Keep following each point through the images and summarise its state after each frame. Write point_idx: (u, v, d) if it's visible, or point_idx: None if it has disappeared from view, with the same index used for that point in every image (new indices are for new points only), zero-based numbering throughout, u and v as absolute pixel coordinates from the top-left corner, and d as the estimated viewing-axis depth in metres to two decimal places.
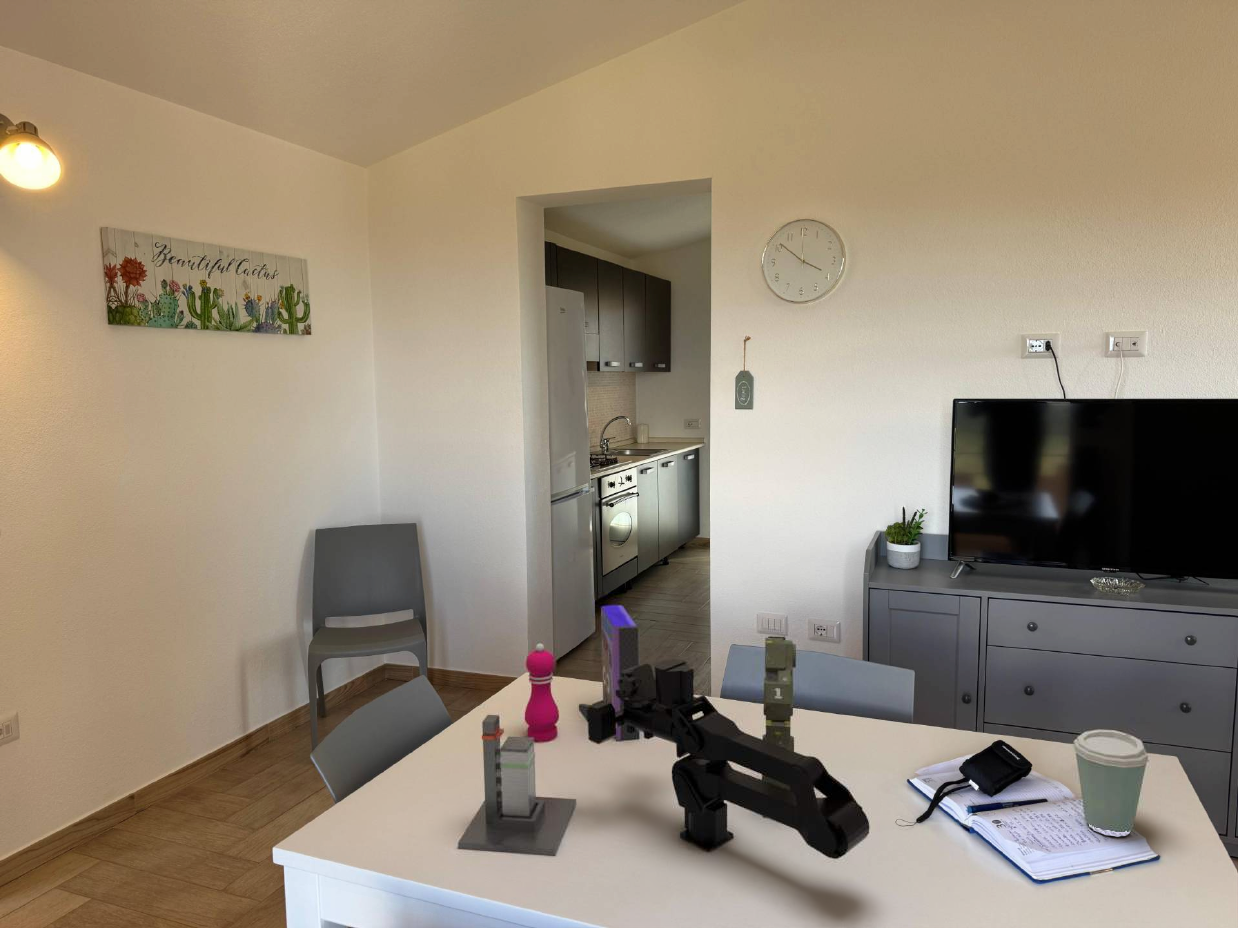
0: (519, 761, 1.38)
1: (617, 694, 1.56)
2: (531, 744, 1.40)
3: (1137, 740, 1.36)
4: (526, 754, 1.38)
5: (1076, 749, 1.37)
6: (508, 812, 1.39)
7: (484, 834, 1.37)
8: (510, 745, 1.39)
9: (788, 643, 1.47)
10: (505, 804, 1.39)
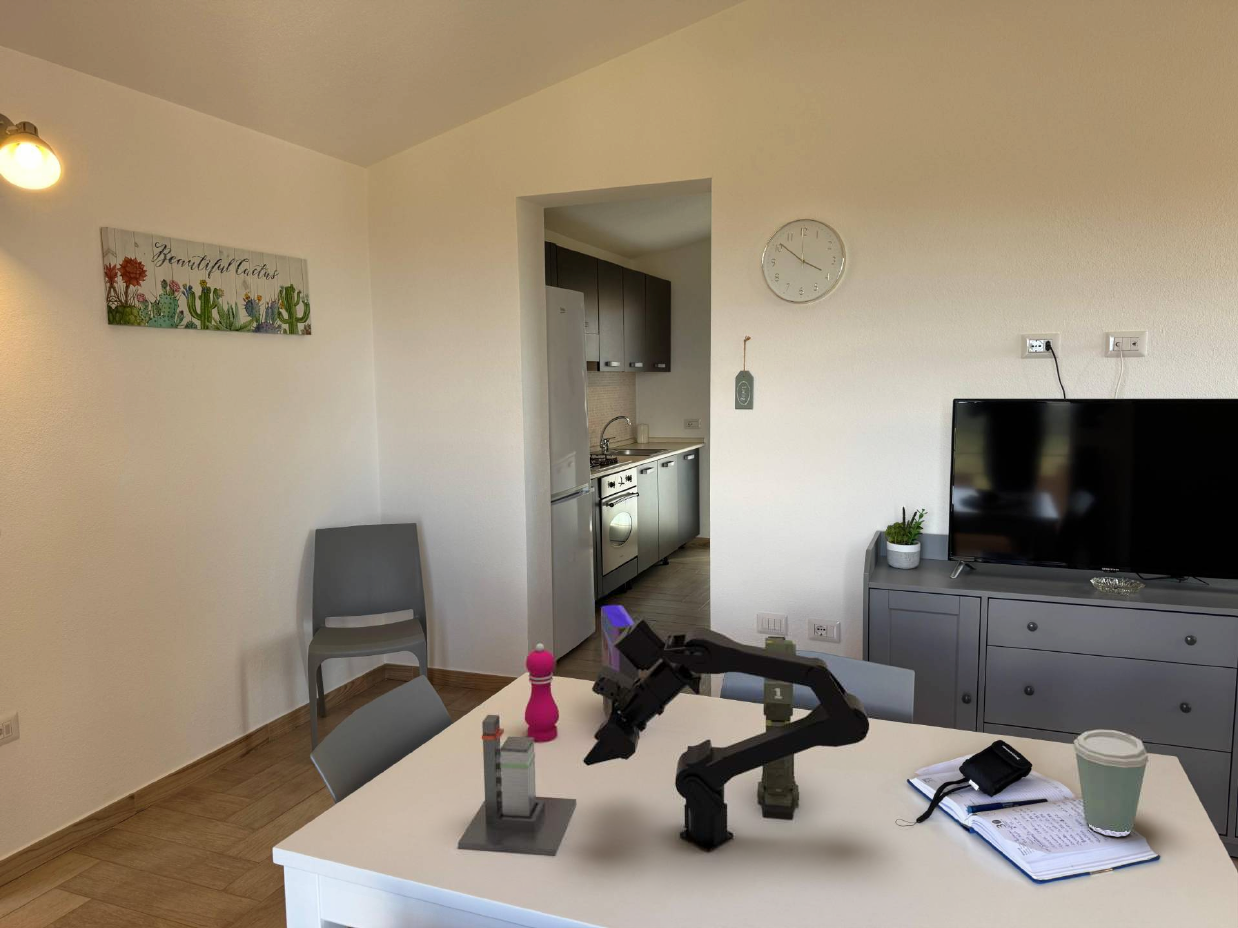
0: (519, 761, 1.38)
1: (598, 737, 1.42)
2: (531, 744, 1.40)
3: (1137, 740, 1.36)
4: (526, 754, 1.38)
5: (1076, 749, 1.37)
6: (508, 812, 1.39)
7: (484, 834, 1.37)
8: (510, 745, 1.39)
9: (788, 643, 1.47)
10: (505, 804, 1.39)
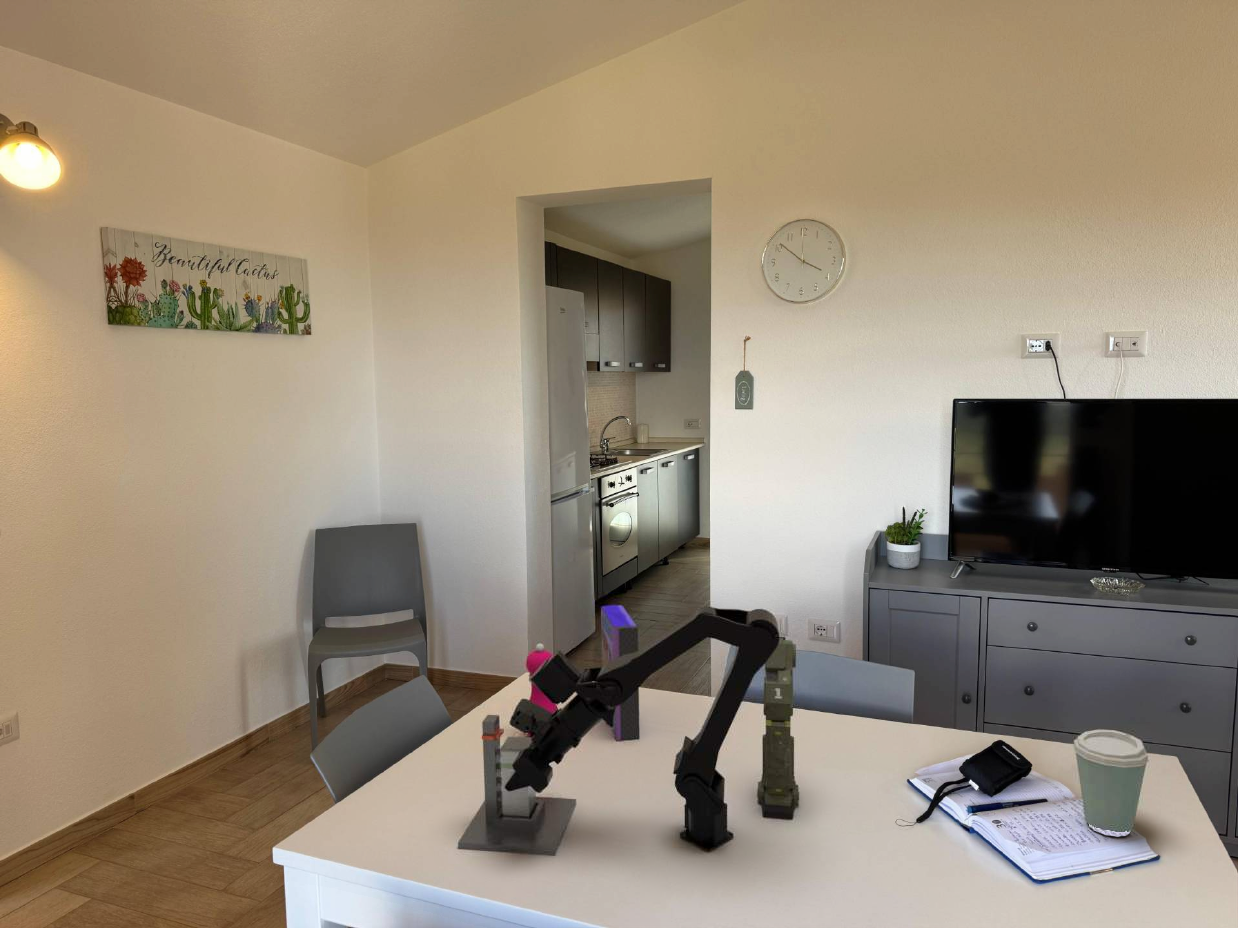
0: None
1: None
2: (531, 744, 1.40)
3: (1137, 740, 1.36)
4: None
5: (1076, 749, 1.37)
6: (508, 812, 1.39)
7: (484, 834, 1.37)
8: (510, 745, 1.39)
9: (788, 643, 1.47)
10: (505, 804, 1.39)
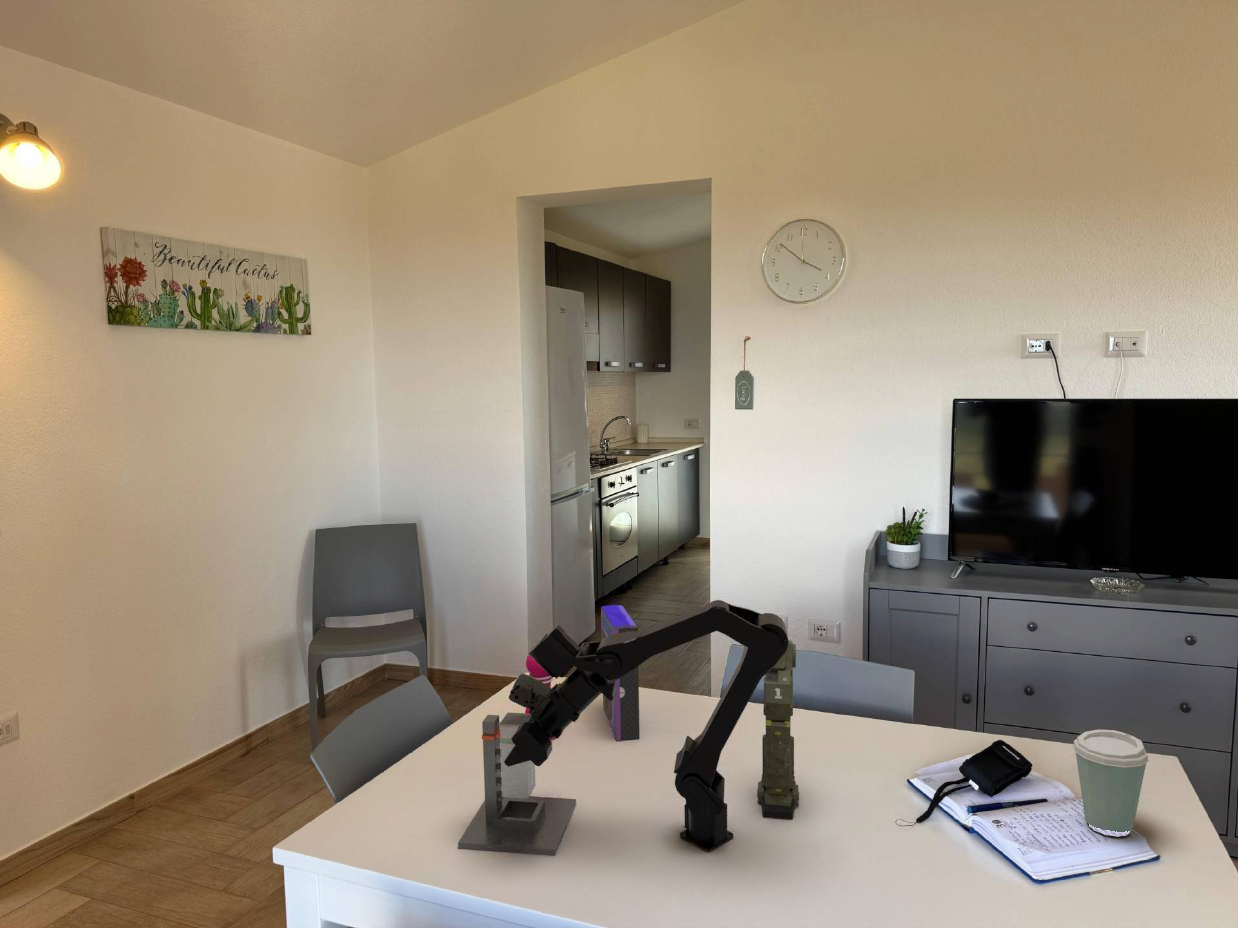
0: None
1: None
2: (530, 720, 1.40)
3: (1137, 740, 1.36)
4: None
5: (1076, 749, 1.37)
6: (507, 788, 1.39)
7: (484, 834, 1.37)
8: (509, 720, 1.38)
9: (788, 643, 1.47)
10: (504, 780, 1.39)
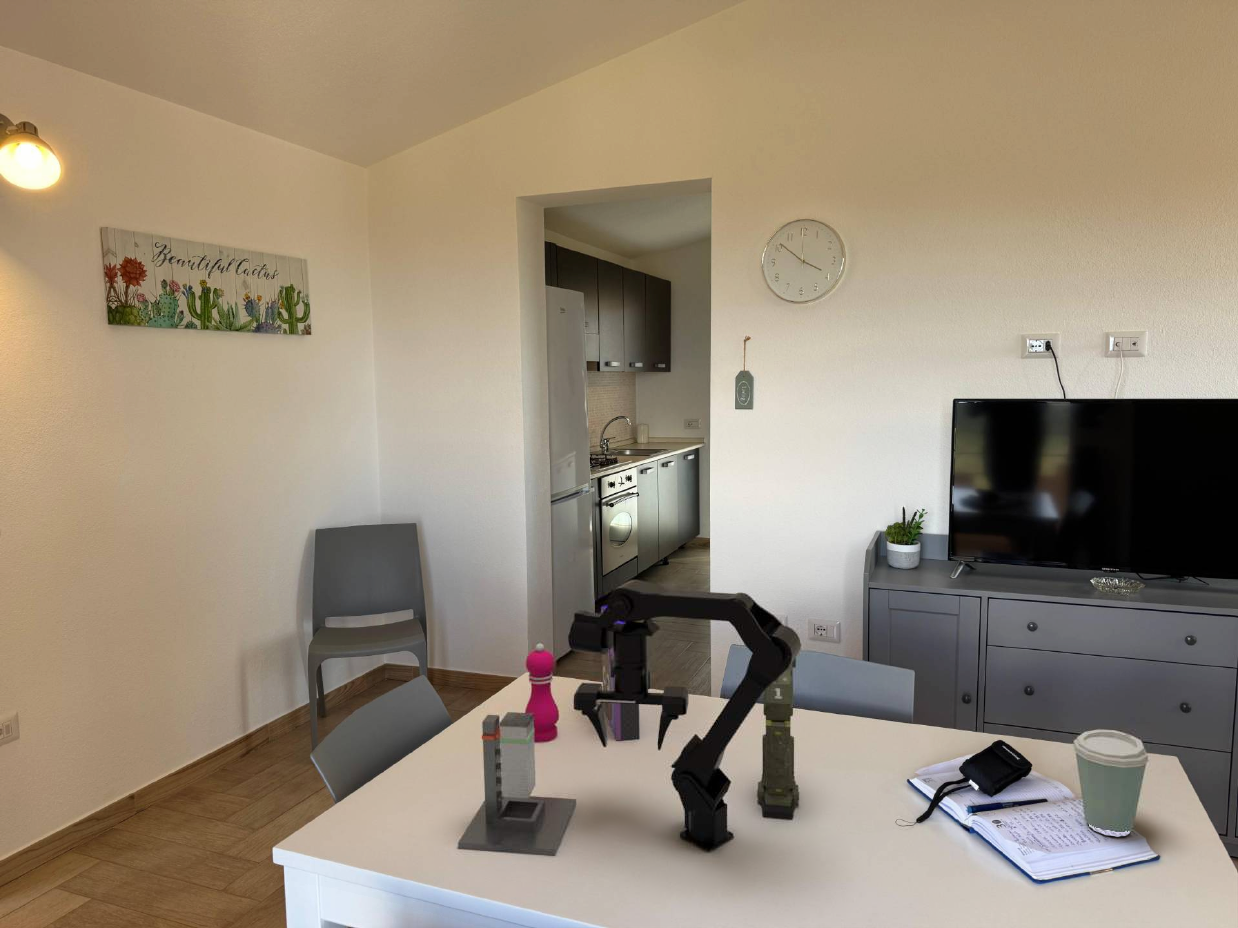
0: (518, 736, 1.37)
1: (658, 746, 1.40)
2: (530, 719, 1.40)
3: (1137, 740, 1.36)
4: (525, 729, 1.37)
5: (1076, 749, 1.37)
6: (507, 788, 1.39)
7: (484, 834, 1.37)
8: (509, 720, 1.38)
9: None
10: (504, 779, 1.39)
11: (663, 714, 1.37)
